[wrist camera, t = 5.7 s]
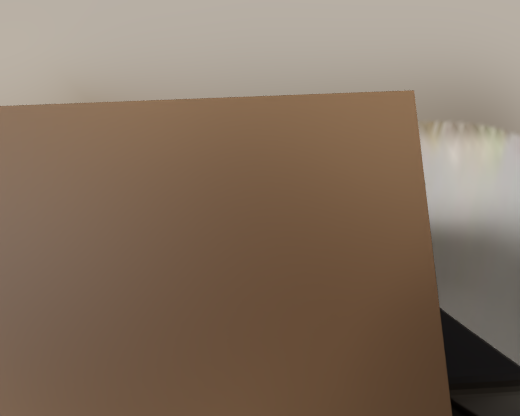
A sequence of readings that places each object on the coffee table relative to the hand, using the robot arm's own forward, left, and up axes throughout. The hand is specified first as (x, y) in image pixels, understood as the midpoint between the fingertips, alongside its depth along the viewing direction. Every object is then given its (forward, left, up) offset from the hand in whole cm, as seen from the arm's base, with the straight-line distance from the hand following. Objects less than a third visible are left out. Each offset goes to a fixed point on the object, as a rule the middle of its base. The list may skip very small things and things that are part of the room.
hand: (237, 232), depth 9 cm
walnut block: (-1, +1, -7) cm, 7 cm away
